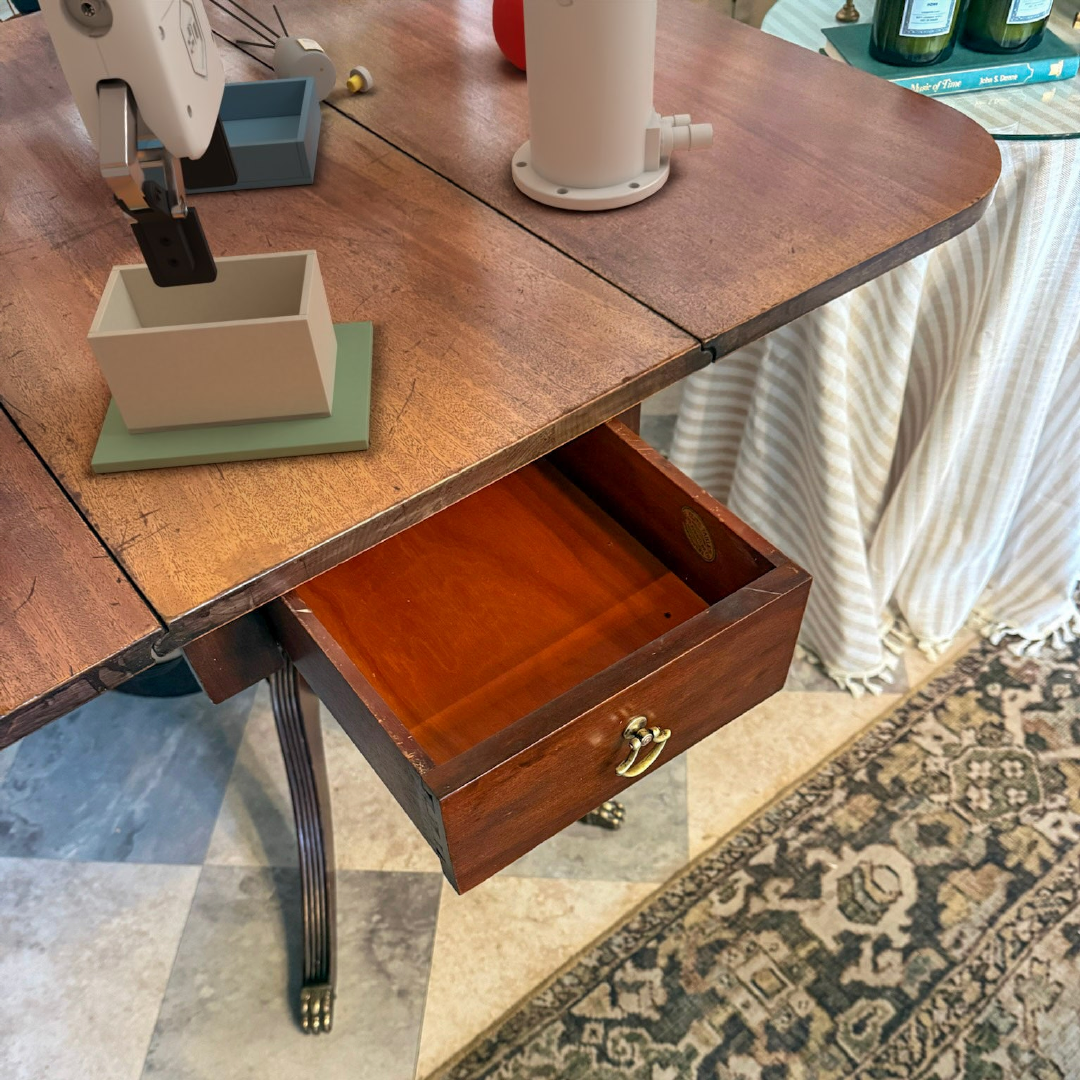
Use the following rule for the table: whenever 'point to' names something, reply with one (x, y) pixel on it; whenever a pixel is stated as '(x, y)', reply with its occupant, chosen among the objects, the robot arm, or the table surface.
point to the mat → (256, 424)
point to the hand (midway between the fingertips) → (200, 230)
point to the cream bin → (218, 344)
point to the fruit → (510, 30)
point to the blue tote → (265, 133)
